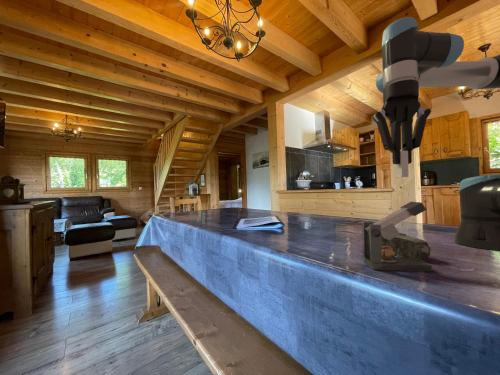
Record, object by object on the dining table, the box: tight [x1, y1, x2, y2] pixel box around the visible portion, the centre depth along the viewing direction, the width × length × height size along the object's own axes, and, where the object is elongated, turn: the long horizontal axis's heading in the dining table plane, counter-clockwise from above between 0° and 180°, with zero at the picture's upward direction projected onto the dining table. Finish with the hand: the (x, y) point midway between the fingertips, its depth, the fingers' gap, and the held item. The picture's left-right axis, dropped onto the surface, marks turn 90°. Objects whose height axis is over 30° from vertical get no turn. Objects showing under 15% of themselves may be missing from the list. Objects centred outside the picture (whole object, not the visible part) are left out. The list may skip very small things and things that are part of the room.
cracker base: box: [362, 221, 433, 273], centre depth 56 cm, size 13×6×11 cm, turn 81°
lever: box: [365, 201, 427, 240], centre depth 56 cm, size 14×5×4 cm, turn 81°
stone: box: [381, 232, 432, 260], centre depth 66 cm, size 14×7×10 cm, turn 31°
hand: (402, 177), depth 56 cm, fingers closed
